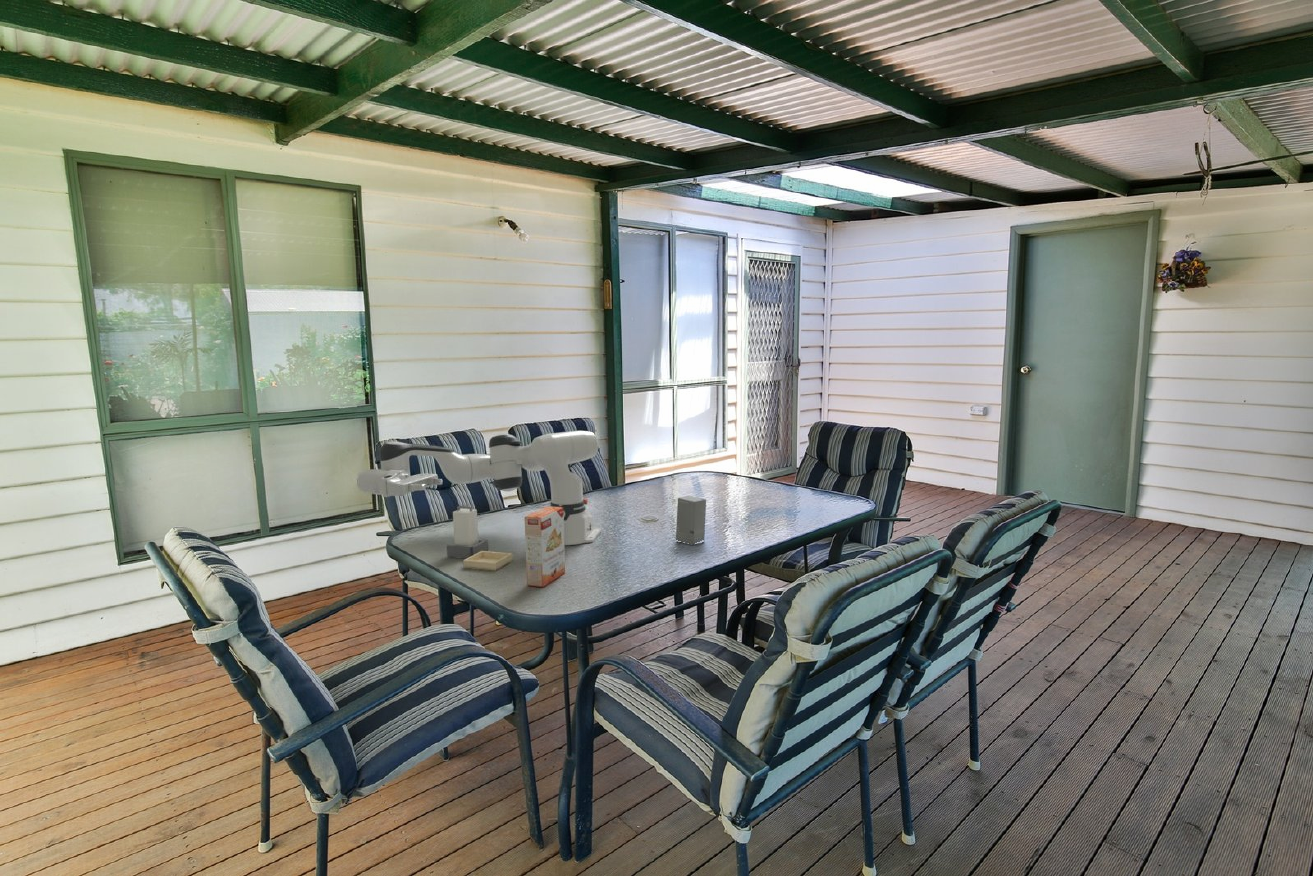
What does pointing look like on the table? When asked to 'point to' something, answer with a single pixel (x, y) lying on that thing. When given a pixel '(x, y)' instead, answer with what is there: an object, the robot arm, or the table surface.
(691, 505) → the skincare box
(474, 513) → the white tall block
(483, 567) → the tray
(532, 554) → the cracker box
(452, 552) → the dock
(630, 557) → the table surface
